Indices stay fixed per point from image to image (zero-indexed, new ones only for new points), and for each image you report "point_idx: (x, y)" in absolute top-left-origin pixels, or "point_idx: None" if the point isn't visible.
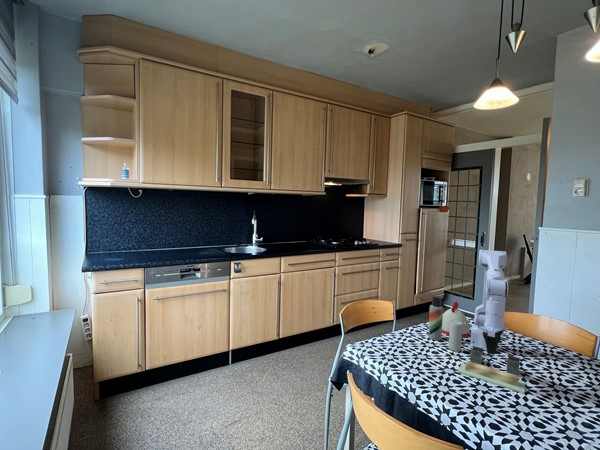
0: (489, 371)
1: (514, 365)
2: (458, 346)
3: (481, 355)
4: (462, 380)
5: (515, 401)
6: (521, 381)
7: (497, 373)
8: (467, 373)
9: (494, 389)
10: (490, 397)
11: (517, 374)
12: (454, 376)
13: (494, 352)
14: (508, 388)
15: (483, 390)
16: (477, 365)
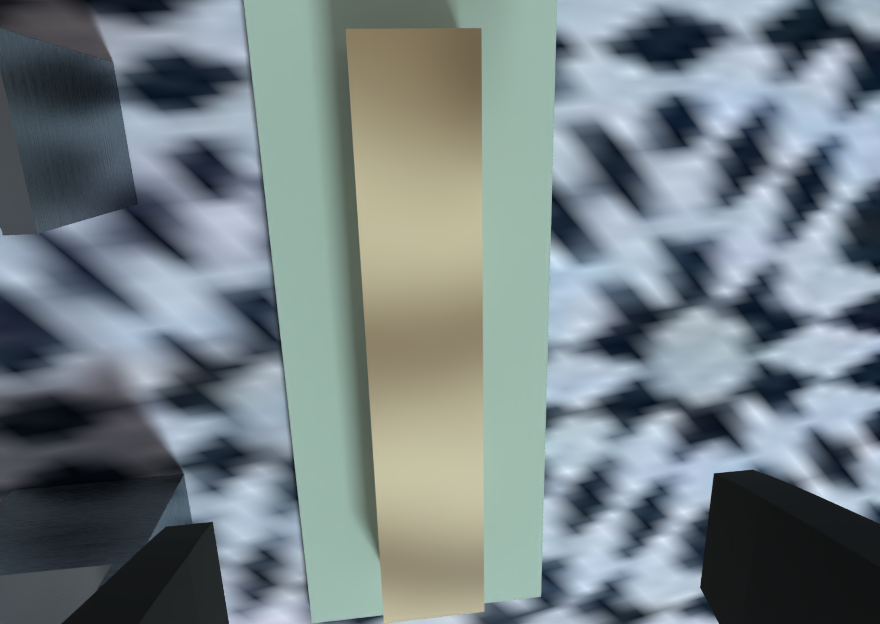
0: (482, 373)
1: (49, 110)
2: None
3: (90, 557)
4: (669, 513)
5: (785, 46)
6: (268, 9)
7: (482, 286)
8: (527, 522)
9: (659, 256)
10: (839, 260)
11: (102, 69)
12: (637, 580)
13: (808, 507)
14: (548, 137)
15: (745, 334)
16: (428, 512)
